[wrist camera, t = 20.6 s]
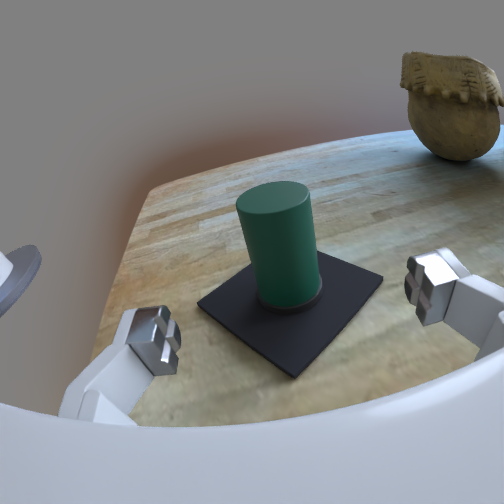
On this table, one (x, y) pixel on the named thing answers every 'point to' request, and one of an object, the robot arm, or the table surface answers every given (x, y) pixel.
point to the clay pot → (452, 104)
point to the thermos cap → (281, 245)
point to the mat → (296, 325)
